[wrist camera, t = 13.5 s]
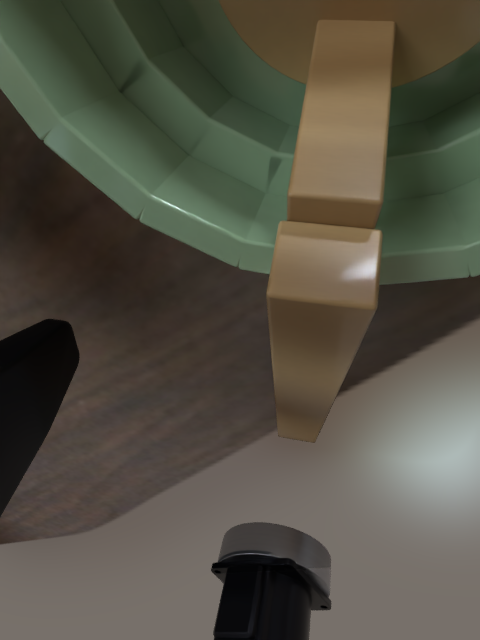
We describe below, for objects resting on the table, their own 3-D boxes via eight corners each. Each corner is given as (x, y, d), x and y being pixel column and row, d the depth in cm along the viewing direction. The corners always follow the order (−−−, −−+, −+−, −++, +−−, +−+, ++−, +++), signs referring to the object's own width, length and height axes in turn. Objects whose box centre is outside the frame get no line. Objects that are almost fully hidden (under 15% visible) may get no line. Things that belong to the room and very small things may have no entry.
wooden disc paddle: (209, -421, 5) (-63, -59, 2) (671, -485, 4) (1026, -63, 2) (265, 271, 19) (236, 429, 17) (371, 283, 19) (358, 451, 16)
